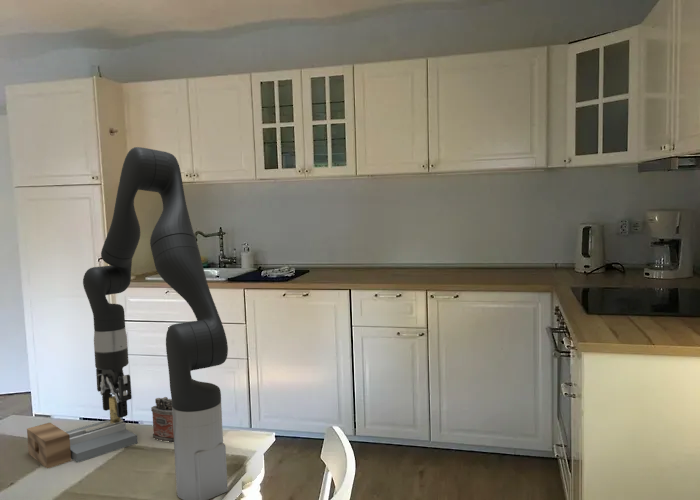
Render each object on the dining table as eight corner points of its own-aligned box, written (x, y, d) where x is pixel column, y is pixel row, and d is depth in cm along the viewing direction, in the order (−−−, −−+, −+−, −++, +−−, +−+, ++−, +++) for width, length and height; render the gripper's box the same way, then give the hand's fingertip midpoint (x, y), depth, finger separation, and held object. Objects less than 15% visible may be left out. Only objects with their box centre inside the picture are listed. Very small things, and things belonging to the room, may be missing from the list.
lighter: (149, 438, 141) (147, 398, 140) (160, 433, 144) (157, 394, 143) (174, 443, 137) (171, 402, 136) (184, 438, 140) (182, 398, 139)
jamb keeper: (71, 460, 129) (69, 434, 129) (47, 468, 126) (45, 441, 125) (51, 447, 138) (50, 422, 137) (28, 453, 134) (26, 428, 134)
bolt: (124, 427, 143) (122, 396, 142) (86, 438, 136) (84, 406, 136) (119, 424, 144) (118, 394, 144) (82, 435, 138) (80, 404, 138)
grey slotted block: (137, 443, 138) (136, 428, 138) (77, 462, 128) (76, 447, 128) (108, 427, 149) (107, 414, 149) (50, 444, 139) (49, 430, 139)
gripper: (139, 348, 139) (143, 415, 140) (113, 340, 149) (117, 403, 150) (108, 354, 134) (112, 424, 135) (83, 346, 144) (87, 411, 145)
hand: (115, 412), depth 142 cm, fingers open, 7 cm apart
